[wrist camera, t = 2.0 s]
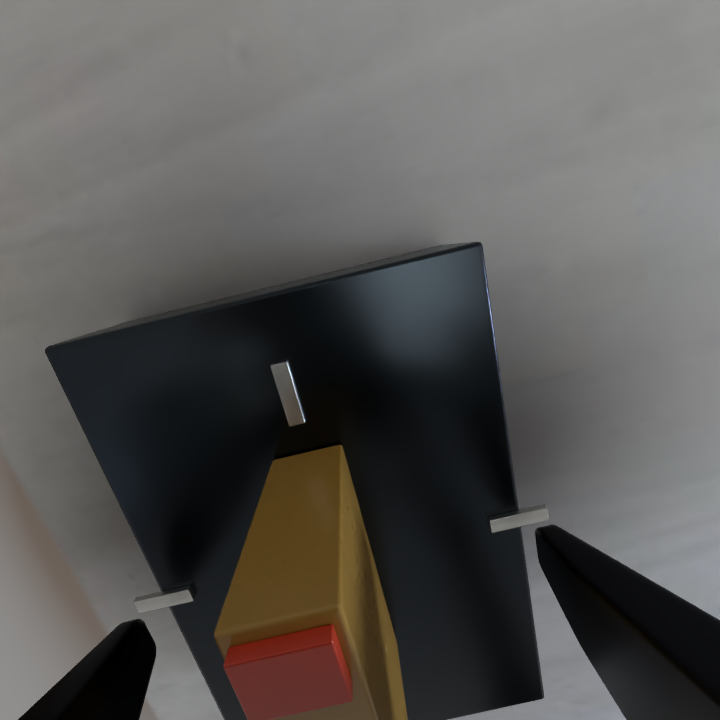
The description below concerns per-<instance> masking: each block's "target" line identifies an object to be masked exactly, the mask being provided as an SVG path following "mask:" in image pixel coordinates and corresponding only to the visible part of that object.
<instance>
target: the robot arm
mask: <svg viewBox="0 0 720 720" xmlns="http://www.w3.org/2000/svg"><path fill="white" fill-rule="evenodd" d="M535 537H536V545H537V553H538V559H539V563H540V566H541V568H542V570H543V572H544V574H545V576H546V578H547V580H548V582H549V584H550V586H551V588H552V590H553V592H554V594H555V596H556V598H557V600H558V602H559V604H560V606H561V608H562V610H563V612H564V614H565V616H566V618H567V620H568V622H569V624H570V626H571V628H572V630H573V632H574V634H575V636H576V638H577V639H578V641H579V643H580V645H581V647H582V649H583V650H584V652H585V654H586V655H587V657H588V659H589V660H590V662H591V663H592V665H593V667H594V668H595V670H596V671H597V673H598V675H599V676H600V678H601V679H602V681H603V683H604V684H605V686H606V688H607V689H608V691H609V692H610V694H611V696H612V697H613V699H614V700H615V702H616V704H617V705H618V707H619V708H620V710H621V712H622V713H623V715H624V716H625V718H626V720H720V620H718V619H717V618H715V617H713V616H711V615H710V614H708V613H706V612H705V611H703V610H701V609H699V608H698V607H696V606H694V605H692V604H691V603H689V602H687V601H686V600H684V599H682V598H680V597H679V596H677V595H675V594H673V593H672V592H670V591H668V590H667V589H665V588H663V587H661V586H660V585H658V584H656V583H655V582H653V581H651V580H649V579H648V578H646V577H644V576H642V575H641V574H639V573H637V572H636V571H634V570H632V569H630V568H629V567H627V566H625V565H623V564H622V563H620V562H618V561H617V560H615V559H613V558H611V557H610V556H608V555H606V554H604V553H603V552H601V551H599V550H598V549H596V548H594V547H592V546H591V545H589V544H587V543H586V542H584V541H582V540H580V539H579V538H577V537H575V536H573V535H572V534H570V533H568V532H567V531H565V530H563V529H561V528H560V527H558V526H556V525H548V526H543V527H539V528H537V529H536V531H535ZM155 657H156V645H155V642H154V640H153V638H152V636H151V634H150V632H149V630H148V629H147V627H146V625H145V623H144V621H142V620H141V619H136V620H131V621H127V622H123V623H121V624H120V625H118V626H117V627H116V628H115V629H114V630H113V631H112V632H111V633H110V634H109V635H108V636H107V637H106V638H105V639H103V640H102V641H101V642H100V643H99V644H98V645H97V646H96V647H95V648H94V649H93V650H92V651H91V652H90V653H89V654H87V655H86V656H85V657H84V658H83V659H82V660H81V661H80V662H79V663H78V664H77V665H76V666H75V667H74V668H73V669H72V670H71V671H70V672H68V673H67V674H66V675H65V676H64V677H63V678H62V679H61V680H60V681H59V682H58V683H57V684H56V685H54V686H53V687H52V688H51V689H50V690H49V691H48V692H47V693H46V694H45V695H44V696H43V697H42V698H41V699H40V700H38V701H37V703H35V704H34V705H33V706H32V707H31V708H30V709H29V710H28V711H27V712H26V713H25V714H24V715H22V716H21V717H20V718H19V719H18V720H139V718H140V714H141V711H142V707H143V703H144V699H145V695H146V692H147V688H148V684H149V680H150V677H151V673H152V669H153V665H154V662H155Z"/></svg>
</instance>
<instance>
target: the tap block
mask: <svg viewBox="0 0 720 720" xmlns="http://www.w3.org/2000/svg"><path fill="white" fill-rule="evenodd" d="M45 353H46V355H47V357H48V359H49V361H50V363H51V365H52V367H53V369H54V371H55V373H56V375H57V377H58V380H59V382H60V384H61V386H62V388H63V390H64V392H65V394H66V396H67V398H68V400H69V402H70V404H71V406H72V408H73V410H74V412H75V414H76V416H77V418H78V421H79V423H80V425H81V427H82V429H83V431H84V433H85V435H86V437H87V439H88V441H89V443H90V445H91V447H92V449H93V451H94V453H95V455H96V457H97V459H98V462H99V464H100V466H101V468H102V470H103V472H104V474H105V476H106V478H107V480H108V482H109V484H110V486H111V488H112V490H113V492H114V494H115V496H116V498H117V500H118V503H119V505H120V507H121V509H122V511H123V513H124V515H125V517H126V519H127V521H128V523H129V525H130V527H131V529H132V531H133V533H134V535H135V537H136V539H137V541H138V544H139V546H140V548H141V550H142V552H143V554H144V556H145V558H146V560H147V562H148V564H149V566H150V568H151V570H152V572H153V574H154V576H155V578H156V580H157V582H158V585H159V587H160V589H161V591H162V592H157V593H153V594H149V595H144V596H140V597H136V599H135V600H134V602H133V603H134V605H135V607H136V609H137V611H138V613H143V612H148V611H152V610H156V609H161V608H165V607H170V609H171V611H172V613H173V615H174V617H175V619H176V621H177V623H178V626H179V628H180V630H181V632H182V634H183V636H184V638H185V640H186V642H187V644H188V646H189V648H190V650H191V652H192V654H193V656H194V658H195V660H196V662H197V664H198V667H199V669H200V671H201V673H202V675H203V677H204V679H205V681H206V683H207V685H208V687H209V689H210V691H211V693H212V695H213V697H214V699H215V701H216V703H217V706H218V708H219V710H220V712H221V714H222V716H223V718H224V720H248V719H247V717H246V715H245V713H244V711H243V709H242V706H241V704H240V702H239V700H238V698H237V696H236V694H235V691H234V689H233V687H232V685H231V683H230V681H229V678H228V676H227V674H226V672H225V670H224V662H225V661H224V658H223V656H222V654H221V652H220V650H219V647H218V645H217V643H216V641H215V639H214V631H215V628H216V626H217V623H218V620H219V617H220V614H221V611H222V608H223V605H224V602H225V599H226V596H227V593H228V590H229V587H230V584H231V581H232V578H233V576H234V573H235V570H236V567H237V564H238V561H239V558H240V555H241V552H242V549H243V546H244V543H245V540H246V537H247V534H248V531H249V528H250V525H251V523H252V520H253V517H254V514H255V511H256V508H257V505H258V502H259V499H260V496H261V493H262V490H263V487H264V484H265V481H266V478H267V475H268V473H269V470H270V467H271V464H272V461H273V460H276V459H280V458H284V457H289V456H293V455H297V454H301V453H306V452H310V451H314V450H318V449H323V448H327V447H331V446H335V445H342V447H343V450H344V453H345V457H346V461H347V464H348V468H349V471H350V475H351V479H352V482H353V486H354V489H355V493H356V497H357V500H358V504H359V508H360V511H361V515H362V518H363V522H364V526H365V529H366V533H367V536H368V540H369V544H370V547H371V551H372V554H373V558H374V562H375V565H376V569H377V572H378V576H379V580H380V583H381V587H382V591H383V594H384V598H385V601H386V605H387V609H388V612H389V616H390V619H391V623H392V627H393V630H394V634H395V637H396V641H397V647H398V654H399V662H400V669H401V676H402V683H403V690H404V697H405V704H406V712H407V719H408V720H447V719H452V718H457V717H461V716H466V715H470V714H475V713H480V712H484V711H489V710H493V709H498V708H502V707H507V706H512V705H516V704H521V703H525V702H530V701H535V700H539V699H542V698H544V692H543V684H542V677H541V670H540V663H539V655H538V648H537V641H536V633H535V626H534V619H533V612H532V604H531V597H530V590H529V582H528V575H527V568H526V560H525V553H524V546H523V539H522V531H521V526H525V525H529V524H534V523H538V522H543V521H547V520H549V516H548V508H547V507H546V505H545V504H542V505H538V506H533V507H529V508H525V509H520V510H519V509H518V502H517V495H516V487H515V480H514V473H513V466H512V458H511V451H510V444H509V436H508V429H507V422H506V414H505V407H504V400H503V393H502V385H501V378H500V371H499V363H498V356H497V349H496V341H495V334H494V327H493V320H492V312H491V305H490V298H489V290H488V283H487V276H486V268H485V261H484V254H483V247H482V244H481V242H470V243H460V244H449V245H440V246H436V247H432V248H428V249H424V250H420V251H416V252H411V253H407V254H403V255H399V256H395V257H391V258H387V259H383V260H379V261H375V262H371V263H366V264H362V265H358V266H354V267H350V268H346V269H342V270H338V271H334V272H330V273H325V274H321V275H317V276H313V277H309V278H305V279H301V280H297V281H293V282H289V283H284V284H280V285H276V286H272V287H268V288H264V289H260V290H256V291H252V292H248V293H243V294H239V295H235V296H231V297H227V298H223V299H219V300H215V301H211V302H207V303H202V304H198V305H194V306H190V307H186V308H182V309H178V310H174V311H170V312H166V313H162V314H157V315H153V316H149V317H145V318H141V319H137V320H133V321H129V322H125V323H122V324H119V325H115V326H112V327H109V328H106V329H103V330H99V331H96V332H93V333H90V334H86V335H83V336H80V337H77V338H74V339H70V340H67V341H64V342H61V343H58V344H54V345H51V346H48V347H47V348H46V349H45Z"/></svg>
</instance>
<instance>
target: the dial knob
mask: <svg viewBox="0 0 720 720" xmlns="http://www.w3.org/2000/svg"><path fill="white" fill-rule="evenodd" d="M214 639H215V641H216V643H217V645H218V647H219V650H220V652H221V654H222V656H223V658H224V661H225V662H224V670H225V672H226V674H227V676H228V678H229V681H230V683H231V685H232V687H233V689H234V691H235V694H236V696H237V698H238V700H239V702H240V704H241V706H242V709H243V711H244V713H245V715H246V717H247V719H248V720H408V719H407V712H406V704H405V697H404V690H403V683H402V676H401V669H400V662H399V654H398V647H397V641H396V637H395V634H394V630H393V627H392V623H391V619H390V616H389V612H388V609H387V605H386V601H385V598H384V594H383V591H382V587H381V583H380V580H379V576H378V572H377V569H376V565H375V562H374V558H373V554H372V551H371V547H370V544H369V540H368V536H367V533H366V529H365V526H364V522H363V518H362V515H361V511H360V508H359V504H358V500H357V497H356V493H355V489H354V486H353V482H352V479H351V475H350V471H349V468H348V464H347V461H346V457H345V453H344V450H343V447H342V445H335V446H331V447H327V448H323V449H318V450H314V451H310V452H306V453H301V454H297V455H293V456H289V457H284V458H280V459H276V460H273V461H272V464H271V467H270V470H269V473H268V475H267V478H266V481H265V484H264V487H263V490H262V493H261V496H260V499H259V502H258V505H257V508H256V511H255V514H254V517H253V520H252V523H251V525H250V528H249V531H248V534H247V537H246V540H245V543H244V546H243V549H242V552H241V555H240V558H239V561H238V564H237V567H236V570H235V573H234V576H233V578H232V581H231V584H230V587H229V590H228V593H227V596H226V599H225V602H224V605H223V608H222V611H221V614H220V617H219V620H218V623H217V626H216V628H215V631H214Z"/></svg>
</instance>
